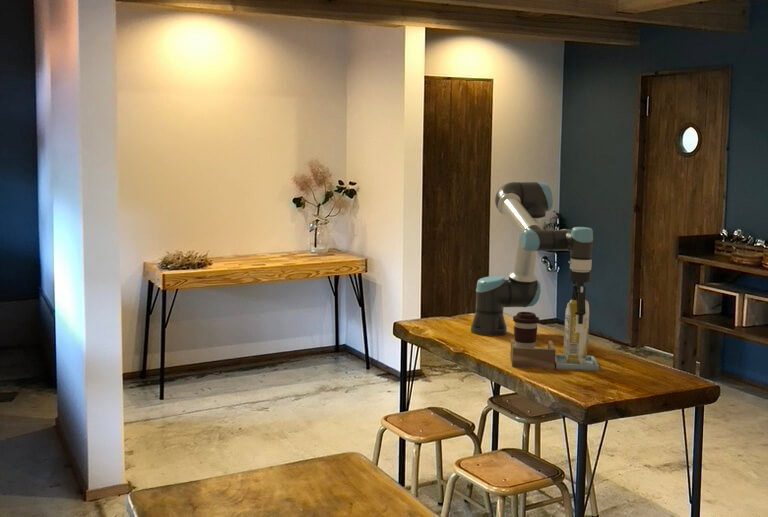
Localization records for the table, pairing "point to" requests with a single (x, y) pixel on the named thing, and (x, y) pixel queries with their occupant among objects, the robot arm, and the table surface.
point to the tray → (588, 365)
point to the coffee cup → (525, 329)
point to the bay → (533, 356)
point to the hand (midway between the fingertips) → (576, 328)
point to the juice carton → (575, 335)
